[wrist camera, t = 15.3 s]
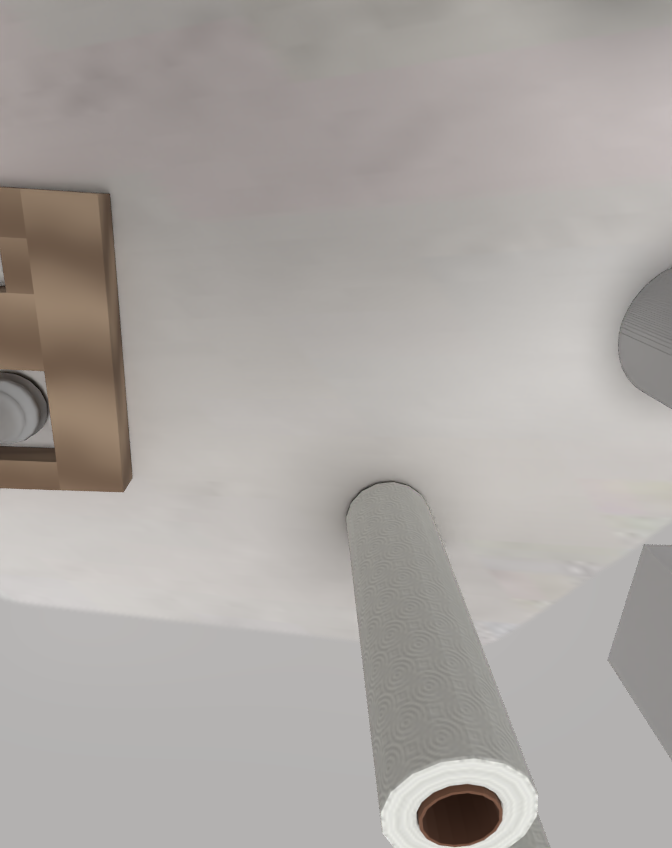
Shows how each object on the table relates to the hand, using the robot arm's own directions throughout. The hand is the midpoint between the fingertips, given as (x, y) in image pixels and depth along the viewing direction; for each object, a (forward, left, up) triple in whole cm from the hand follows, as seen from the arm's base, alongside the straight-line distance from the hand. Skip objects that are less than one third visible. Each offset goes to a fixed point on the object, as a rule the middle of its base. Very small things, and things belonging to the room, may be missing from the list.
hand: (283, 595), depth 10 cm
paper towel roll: (+15, +7, -27) cm, 32 cm away
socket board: (+3, -18, -27) cm, 32 cm away
